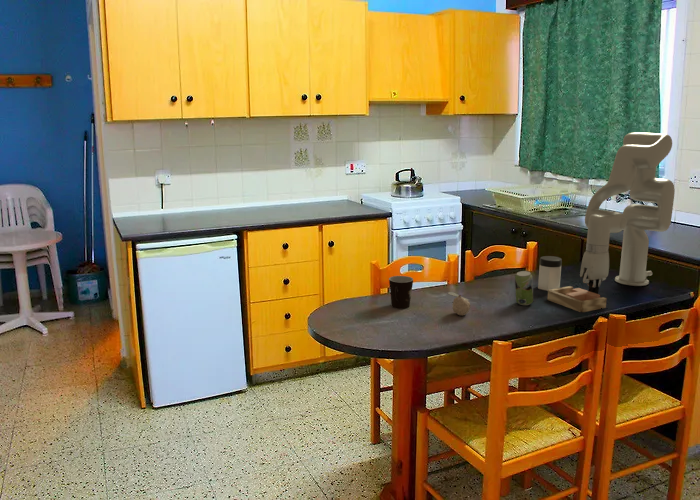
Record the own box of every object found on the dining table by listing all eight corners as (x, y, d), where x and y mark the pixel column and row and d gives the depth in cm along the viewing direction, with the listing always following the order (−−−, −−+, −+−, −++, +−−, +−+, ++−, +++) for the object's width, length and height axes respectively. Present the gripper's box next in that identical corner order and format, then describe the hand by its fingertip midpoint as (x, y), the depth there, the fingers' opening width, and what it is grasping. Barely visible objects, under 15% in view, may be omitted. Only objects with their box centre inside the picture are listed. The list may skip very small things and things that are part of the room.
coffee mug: (399, 300, 236) (399, 274, 233) (417, 306, 230) (418, 279, 227) (377, 307, 228) (378, 280, 225) (396, 313, 222) (396, 285, 219)
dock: (569, 294, 243) (569, 286, 242) (605, 307, 228) (606, 298, 227) (545, 299, 238) (546, 290, 237) (581, 312, 223) (582, 302, 222)
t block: (578, 297, 240) (578, 287, 240) (599, 304, 232) (600, 294, 231) (558, 300, 236) (558, 291, 235) (579, 308, 227) (580, 298, 226)
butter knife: (451, 291, 247) (445, 292, 245) (496, 308, 227) (489, 310, 225) (451, 292, 247) (445, 293, 245) (496, 309, 227) (489, 311, 225)
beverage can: (536, 303, 233) (538, 271, 230) (526, 308, 227) (528, 275, 225) (520, 300, 237) (522, 268, 234) (510, 304, 231) (512, 272, 229)
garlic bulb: (447, 313, 221) (448, 291, 220) (460, 310, 225) (461, 288, 223) (461, 318, 216) (462, 296, 214) (474, 315, 220) (475, 292, 218)
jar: (564, 288, 251) (567, 258, 248) (552, 292, 246) (555, 262, 243) (545, 283, 258) (547, 254, 255) (532, 287, 253) (534, 257, 250)
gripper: (603, 244, 239) (599, 291, 243) (574, 248, 232) (570, 296, 236) (620, 248, 232) (615, 296, 237) (590, 252, 226) (586, 302, 230)
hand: (593, 296), depth 237 cm, fingers closed
